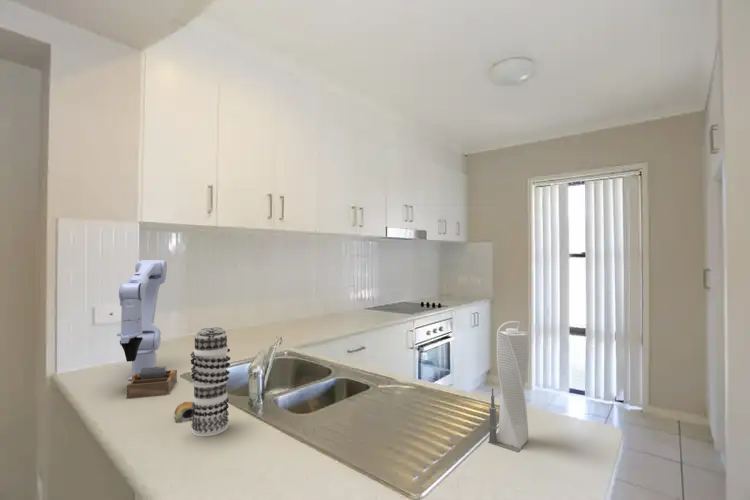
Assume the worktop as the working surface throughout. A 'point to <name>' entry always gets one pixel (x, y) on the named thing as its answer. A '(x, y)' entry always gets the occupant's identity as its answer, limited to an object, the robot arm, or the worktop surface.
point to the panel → (153, 373)
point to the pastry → (184, 412)
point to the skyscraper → (511, 390)
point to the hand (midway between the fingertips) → (131, 360)
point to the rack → (151, 385)
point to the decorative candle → (210, 382)
